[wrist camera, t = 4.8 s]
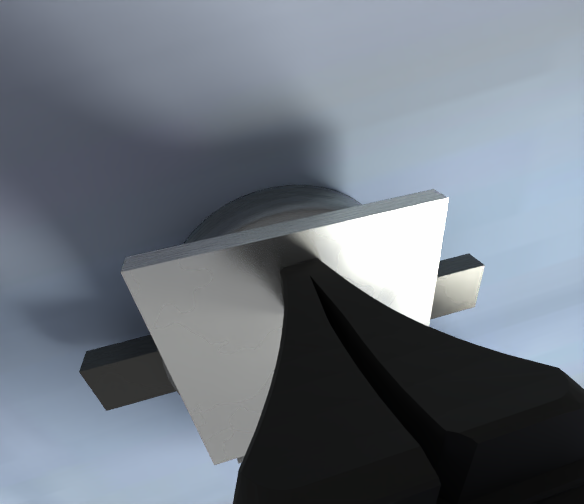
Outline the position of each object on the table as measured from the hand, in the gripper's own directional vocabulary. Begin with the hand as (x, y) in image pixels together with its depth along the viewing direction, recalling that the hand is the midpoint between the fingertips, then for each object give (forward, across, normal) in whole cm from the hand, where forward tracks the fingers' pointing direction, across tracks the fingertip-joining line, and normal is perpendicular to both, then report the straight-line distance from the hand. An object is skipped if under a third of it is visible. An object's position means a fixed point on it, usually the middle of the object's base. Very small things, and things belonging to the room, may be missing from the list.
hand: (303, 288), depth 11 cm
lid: (+1, 0, +4) cm, 4 cm away
